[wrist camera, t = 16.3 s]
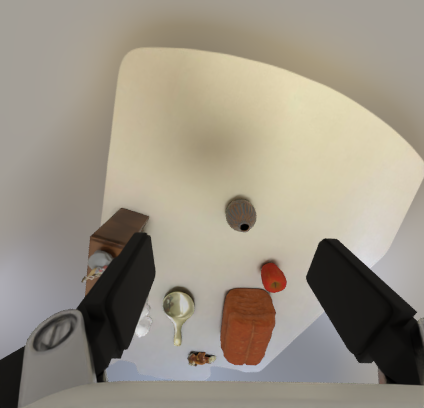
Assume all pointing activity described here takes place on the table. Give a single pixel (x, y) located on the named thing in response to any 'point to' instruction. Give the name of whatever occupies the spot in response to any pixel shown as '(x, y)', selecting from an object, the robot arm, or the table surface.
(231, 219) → the vase
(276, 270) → the apple
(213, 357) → the pastry
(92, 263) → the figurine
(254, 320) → the bread
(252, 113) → the table surface
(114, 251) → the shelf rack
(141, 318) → the container set
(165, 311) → the spoon
